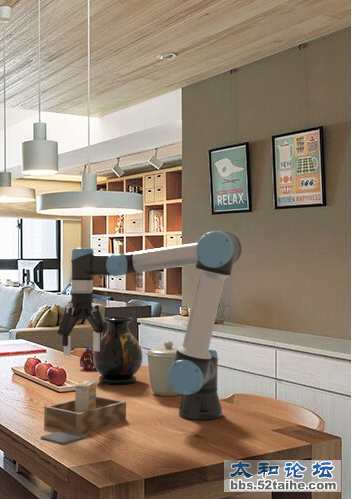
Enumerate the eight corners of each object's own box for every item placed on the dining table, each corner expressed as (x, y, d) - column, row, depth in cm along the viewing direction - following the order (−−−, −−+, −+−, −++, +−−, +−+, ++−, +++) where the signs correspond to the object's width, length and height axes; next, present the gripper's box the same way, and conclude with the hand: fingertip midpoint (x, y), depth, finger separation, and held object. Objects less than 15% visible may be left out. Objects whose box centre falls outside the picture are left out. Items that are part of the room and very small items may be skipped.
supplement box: (88, 426, 212) (88, 385, 212) (74, 425, 213) (74, 385, 213) (96, 419, 220) (97, 380, 220) (83, 418, 221) (83, 380, 221)
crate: (92, 412, 230) (92, 395, 230) (125, 419, 220) (126, 401, 220) (44, 425, 213) (44, 406, 213) (78, 433, 203) (78, 414, 203)
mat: (87, 437, 199) (87, 435, 199) (63, 444, 191) (63, 442, 191) (65, 431, 205) (65, 429, 205) (40, 438, 197) (40, 436, 197)
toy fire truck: (78, 368, 318) (78, 347, 318) (103, 367, 322) (103, 345, 322) (81, 370, 311) (81, 349, 311) (106, 369, 315) (106, 347, 315)
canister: (200, 393, 261) (200, 341, 261) (167, 400, 249) (167, 345, 249) (168, 387, 274) (169, 337, 274) (136, 393, 262) (136, 340, 262)
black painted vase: (136, 387, 273) (136, 320, 273) (86, 385, 276) (87, 319, 276) (146, 378, 294) (147, 315, 294) (100, 376, 297) (101, 314, 297)
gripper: (100, 290, 239) (100, 348, 239) (47, 293, 220) (46, 356, 220) (115, 291, 234) (115, 350, 234) (61, 294, 215) (61, 358, 215)
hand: (82, 353), depth 227 cm, fingers open, 13 cm apart
